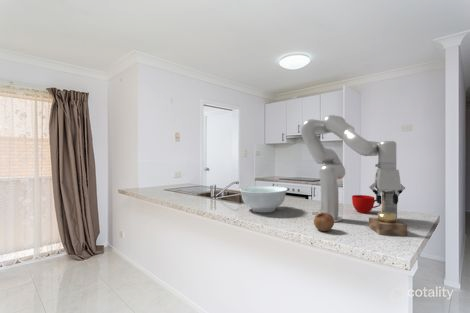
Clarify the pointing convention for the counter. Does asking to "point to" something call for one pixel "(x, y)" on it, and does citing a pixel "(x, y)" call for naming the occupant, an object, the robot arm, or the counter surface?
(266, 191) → the bowl
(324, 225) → the onion
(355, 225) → the counter surface
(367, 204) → the ceramic cup
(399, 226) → the block
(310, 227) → the counter surface
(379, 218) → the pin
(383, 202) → the coffee box
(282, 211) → the counter surface
